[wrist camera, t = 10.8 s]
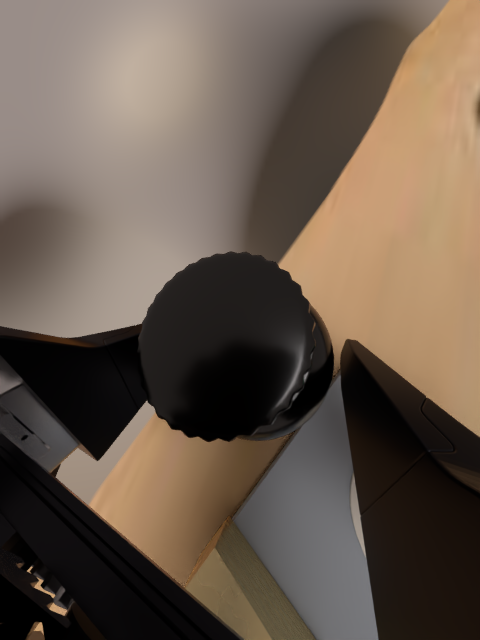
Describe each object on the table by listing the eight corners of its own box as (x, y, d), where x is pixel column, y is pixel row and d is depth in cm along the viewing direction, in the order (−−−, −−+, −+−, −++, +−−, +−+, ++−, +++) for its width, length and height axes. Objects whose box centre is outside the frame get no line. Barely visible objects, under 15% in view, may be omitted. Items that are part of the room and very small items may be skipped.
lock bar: (288, 700, 9) (287, 808, 7) (201, 552, 12) (180, 593, 9) (322, 648, 9) (332, 736, 7) (229, 515, 12) (214, 547, 10)
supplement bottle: (317, 332, 15) (391, 210, 4) (307, 417, 13) (384, 636, 2) (242, 321, 17) (154, 225, 6) (226, 393, 15) (64, 438, 4)
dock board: (390, 923, 7) (495, 1507, 3) (195, 569, 12) (154, 651, 9) (610, 531, 8) (863, 656, 5) (347, 360, 13) (367, 354, 10)
